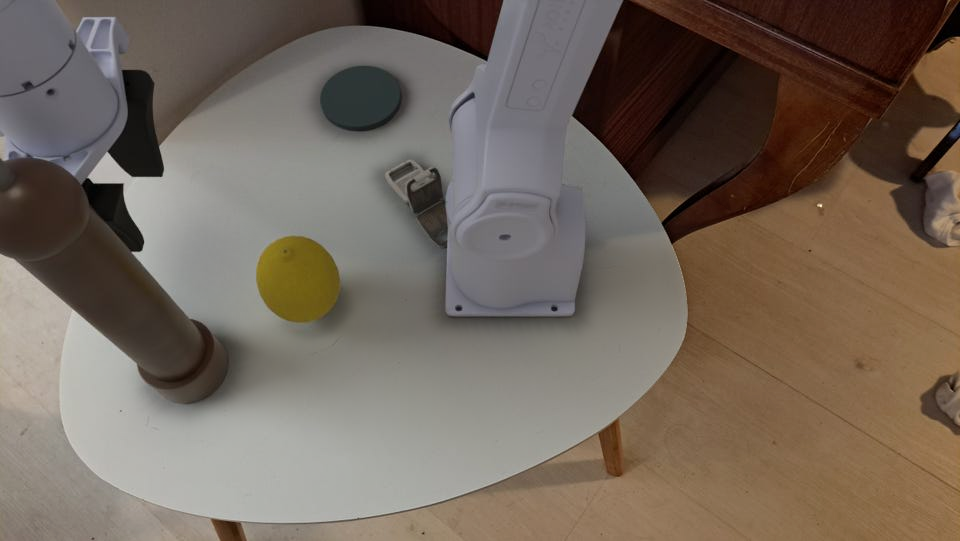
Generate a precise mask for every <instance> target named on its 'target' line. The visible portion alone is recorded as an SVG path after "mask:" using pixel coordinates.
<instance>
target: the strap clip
mask: <svg viewBox="0 0 960 541" xmlns="http://www.w3.org/2000/svg"><path fill="white" fill-rule="evenodd" d="M409 168H412V171H410V172H408V173H406V174H405V175H403V176H401V177H399V178H398V179H396V180H395V181H394V180H393V179H392V178H393V177H395V176H397V175H398V174H400V173H402V172H403V171H406V170H407V169H409ZM432 175H433V177H430V176H432ZM441 177H442V176H441V175H440V172H439V170H438V169H437V168H436V166H431V167H429V168H427V169H424V168H423V167H422V165H420V164H419V163H417V162H416V161H415V160H413V159H407V160H405V161H403V162H401V163H400V164H398V165H396V166H394V167H392V168H390V169H389V170H388V171H387V170H386V172H385V173H384V178H385V181H386V184H387V186H388V187H389V189H390V191H392V193H393V194H394V195H395V196H396V197H397V198H398V199H399V200H400V201H401V202H402V203H403V204H404V206H405V207H410V210H411V211H412V212H413V213H414V214H416V215H417V216H416V221H417V223H418V224H419V226H420V227H421V229H422V230H423V232H424V233H425V234H426V236H427V237H428V239H429V240H430V241H431V242H432V243H433V244H434V245H435V246H437V247H438V248H440V249H444V248H447V239H446V240H445V241H440V240H439V239H438V238H437V237H439V235H441V234H443V233H445V232H446V231H448V224H447V214H446V205H445V204H446V203H445V200H442V199H443V197H444V192H443V184H442V178H441Z"/></svg>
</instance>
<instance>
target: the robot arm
mask: <svg viewBox="0 0 960 541" xmlns="http://www.w3.org/2000/svg"><path fill="white" fill-rule="evenodd" d="M623 3H624V0H503V1H502V5H501V9H500V12H499V16H498V20H497V24H496V26H495V31H494V35H493V38H492V43H491V46H490V49H489V53H488V57H487V61H486V63H482V64H478V65H477V66H476V67H475V71H474V74H473V77H472V81H471V83H470V84H469V85H468V87H467V88H466V90H464V91H463V92H462V93H461V94H460V95H459V96H458V97H457V98H456V99H455V100H454V102H452V104H451V107H450V109H449V112H448V123H449V130H450V133H451V163H452V164H451V166H452V169H451V170H452V172H451V173H452V177H451V180H450V182H449V184H448V187H447V189H446V192H445V200H444V201H445V203H446V204H445V205H446V214H447V224H448V230H447V239H446V240H447V246H446V274H445V301H444V302H445V304H444V310H445V313H446V315H447V316H449V317H571V316H573V315H574V314H575V311H576V296H577V293H578V289H579V284H580V279H581V275H582V271H583V266H584V260H585V251H586V248H585V247H586V235H587V234H586V227H587V226H586V203H585V197H584V191H583V187H581V186H578V185H577V186H576V185H570V184H569V185H568V184H563V174H564V172H563V171H564V160H565V148H566V137H567V136H566V134H567V128H568V125H569V123H570V122H571V119H572V116H573V114H574V112H575V109H576V107H577V105H578V103H579V101H580V99H581V96H582V94H583V92H584V89H585V87H586V85H587V82H588V80H589V78H590V76H591V74H592V72H593V69H594V67H595V65H596V63H597V60H598V58H599V55H600V54H601V51H602V49H603V47H604V44H605V42H606V40H607V38H608V35H609V33H610V32H611V29H612V26H613V24H614V22H615V20H616V17H617V15H618V13H619V10H620V9H621V6H622V4H623ZM130 43H131V40H130V38H129V36H128V35H127V33H126V31H125V29H124V28H123V27H122V25H121V22H120V21H119V19H118V18H117V17H116V16H86V17H85V16H83V17H82V18H81V21H80V23H79V25H78V27H77V29H75V28H74V26H73V25H72V23H71V21H70V20H69V18H68V17H67V16H66V14H65V13H64V11H63V10H62V8H61V7H60V5H59V4H58V2H57V1H56V0H0V137H1V138H2V137H4V155H5V158H4V161H5V160H8V159H13V158H20V157H31V158H39V159H43V160H47V161H50V162H53V163H55V164H57V165H59V166H61V167H63V168H64V169H66V170H67V171H69V172H70V173H71V174H72V175H73V176H74V177H75V178H76V179H77V180H78V181H79V183H80V184H81V186H82V187H83V189H84V191H85V193H86V195H87V198H88V202H89V204H90V205H91V206H92V207H93V208H94V210H95V211H96V212H97V213H98V214H99V215H100V217H101V218H102V219H103V220H104V221H105V222H106V223H107V225H108V226H109V227H110V228H111V229H112V230H113V231H114V233H115V234H116V235H117V236H118V237H119V238H120V239H121V241H122V242H123V243H124V244H125V245H126V246H127V248H128V249H129V250H130V251H131V252H132V253H141V252H142V251H143V249H144V246H145V238H144V235H143V233H142V231H141V230H140V229H139V226H138V225H137V224H136V222H135V221H134V219H133V218H132V216H131V215H130V213H129V210H128V207H127V204H126V201H125V195H124V191H125V190H124V189H125V188H124V187H125V183H124V182H123V183H122V182H120V183H118V182H116V183H115V182H109V183H108V182H106V183H105V182H93V181H92V179H91V178H89V176H90V174H91V173H92V172H93V171H94V170H95V168H96V167H97V166H98V165H99V163H100V162H101V161H102V159H103V158H104V157H105V155H106V154H107V153H108V154H109V156H110V157H111V158H112V159H113V160H114V162H115V163H116V164H117V165H118V166H119V167H120V169H122V170H123V171H124V172H125V173H126V174H128V175H129V176H130V177H131V178H163V176H164V172H165V165H164V161H163V160H164V159H163V156H162V152H161V149H160V145H159V141H158V137H157V132H156V127H155V126H156V125H155V119H154V92H155V82H154V80H153V78H152V77H151V75H150V74H149V73H148V72H147V71H146V70H143V69H123V68H122V62H121V55H124V54H126V53H127V52H128V50H129V48H130ZM457 308H461V310H457ZM553 308H556V309H557V310H552V309H553Z"/></svg>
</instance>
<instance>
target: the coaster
mask: <svg viewBox="0 0 960 541" xmlns="http://www.w3.org/2000/svg"><path fill="white" fill-rule="evenodd" d="M401 91H402V90H401V87H400V84H399V82H398V81H397V79H396V78H395V77H394V76H393V75H392V74H391V73H390V72H388V71H387V70H385V69H382V68H380V67H377V66H373V65H356V66H355V65H354V66H349V67H347V68H344V69H342V70H340V71H338V72H337V73H334V74H333V75H332V76H331V77H329V79H328V80H327V81H326V82H325V83H324V85H323V87H322V89H321V92H320V95H319V101H320V107H321V110H322V113H323V115H324V116H325V118H326V120H328V121H329V122H330V123H331V124H333V125H334V126H336V127H338V128H340V129H343V130H347V131H353V132H354V131H355V132H360V131H361V132H362V131H363V132H364V131H370V130H373V129H375V128H376V129H377V128H378V127H381V126H382V125H385V124H386V123H387V122H389V121H390V120H391V119H392V118H393V117H394V116H395V115H396V113H398V110H399V108H400V106H401V102H402V92H401Z"/></svg>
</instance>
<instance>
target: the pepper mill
mask: <svg viewBox="0 0 960 541" xmlns="http://www.w3.org/2000/svg"><path fill="white" fill-rule="evenodd" d="M0 255H1V256H3V257H7V258H9V259H13V260H14V261H15V262H16V263H18V264H19V265H20V266H21V267H22V268H24V269H25V270H26V271H27V272H28V273H30V274H31V275H32V276H33V277H34V278H35V279H36V280H38V281H39V282H40V283H41V284H42V285H44V286H45V287H46V288H47V289H48V290H49V291H50V292H52V293H53V294H54V295H56V297H57V298H59V299H60V300H61V301H63V302H64V303H65V304H66V305H67V306H68V307H70V309H72V311H74V312H75V313H77V315H79V317H81V318H83V320H85V321H86V322H87V323H88V324H90V326H92V327H93V328H94V329H95V330H97V332H99V334H101V335H102V336H103V337H105V338H106V339H107V340H108V341H109V342H110V343H112V344H113V345H114V346H115V347H116V348H118V349H119V350H120V351H121V352H122V353H124V354H125V355H126V356H127V357H128V358H129V359H131V361H133V362H134V363H135V364H136V367H137V371H138V374H139V375H140V377H141V379H142V380H143V381H144V382H145V383H146V384H147V385H149V386H150V387H151V388H152V389H153V390H155V391H156V392H157V393H159V394H160V395H161V396H162V397H163V398H165V399H166V400H168V401H170V402H173V403H176V404H192V403H196V402H200V401H201V400H204V399H206V398H207V397H209V396H211V394H213V393H214V392H215V391H216V390H217V389H218V388H219V387H220V386H221V384H222V383H223V381H224V379H225V377H226V375H227V371H228V367H229V359H228V358H229V357H228V353H227V351H226V349H225V347H224V346H223V345H222V343H221V341H219V339H218V338H217V337H216V336H215V335H214V334H213V332H212V331H211V330H210V329H209V327H208V326H206V325H205V324H204V323H202V322H201V321H199V320H197V319H193V318H190V317H189V316H188V315H187V314H186V312H184V311H183V309H182V308H181V307H180V306H179V304H177V302H176V301H175V300H174V299H173V298H172V297H171V296H170V294H168V292H167V291H166V289H164V287H163V286H162V285H161V284H160V283H159V282H158V281H157V279H155V277H154V276H153V275H152V274H151V273H150V271H149V270H148V269H147V268H146V267H145V266H144V265H143V263H142V262H141V261H140V260H139V259H138V257H136V255H135V254H134V252H131V251H130V250H129V249H128V248H127V246H126V245H125V244H124V243H123V242H122V241H121V239H120V238H119V237H118V236H117V235H116V234H115V233H114V231H113V230H112V229H111V228H110V227H109V226H108V225H107V223H106V222H105V221H104V220H103V219H102V218H101V217H100V215H99V214H98V213H97V212H96V211H95V210H94V208H93V207H92V206H91V205H90V204H89V202H88V198H87V195H86V193H85V191H84V189H83V187H82V186H81V184H80V183H79V181H78V180H77V179H76V178H75V177H74V176H73V175H72V174H71V173H70V172H69V171H67V170H66V169H64V168H63V167H61V166H59V165H57V164H55V163H53V162H50V161H47V160H43V159H39V158H31V157H20V158H13V159H8V160H5V159H4V160H3V159H2V157H0Z"/></svg>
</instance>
